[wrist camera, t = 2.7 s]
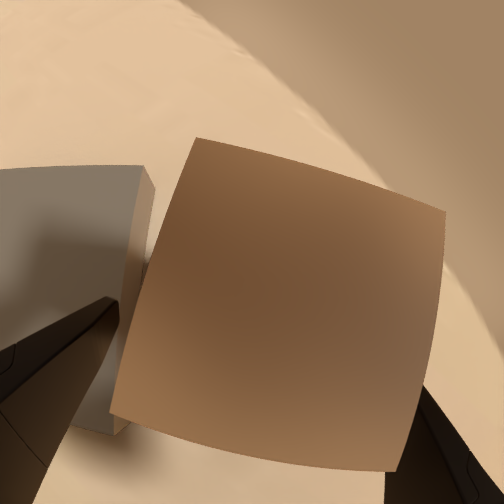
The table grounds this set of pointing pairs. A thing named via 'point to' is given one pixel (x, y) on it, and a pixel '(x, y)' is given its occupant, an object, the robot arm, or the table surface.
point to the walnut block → (284, 313)
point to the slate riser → (73, 258)
